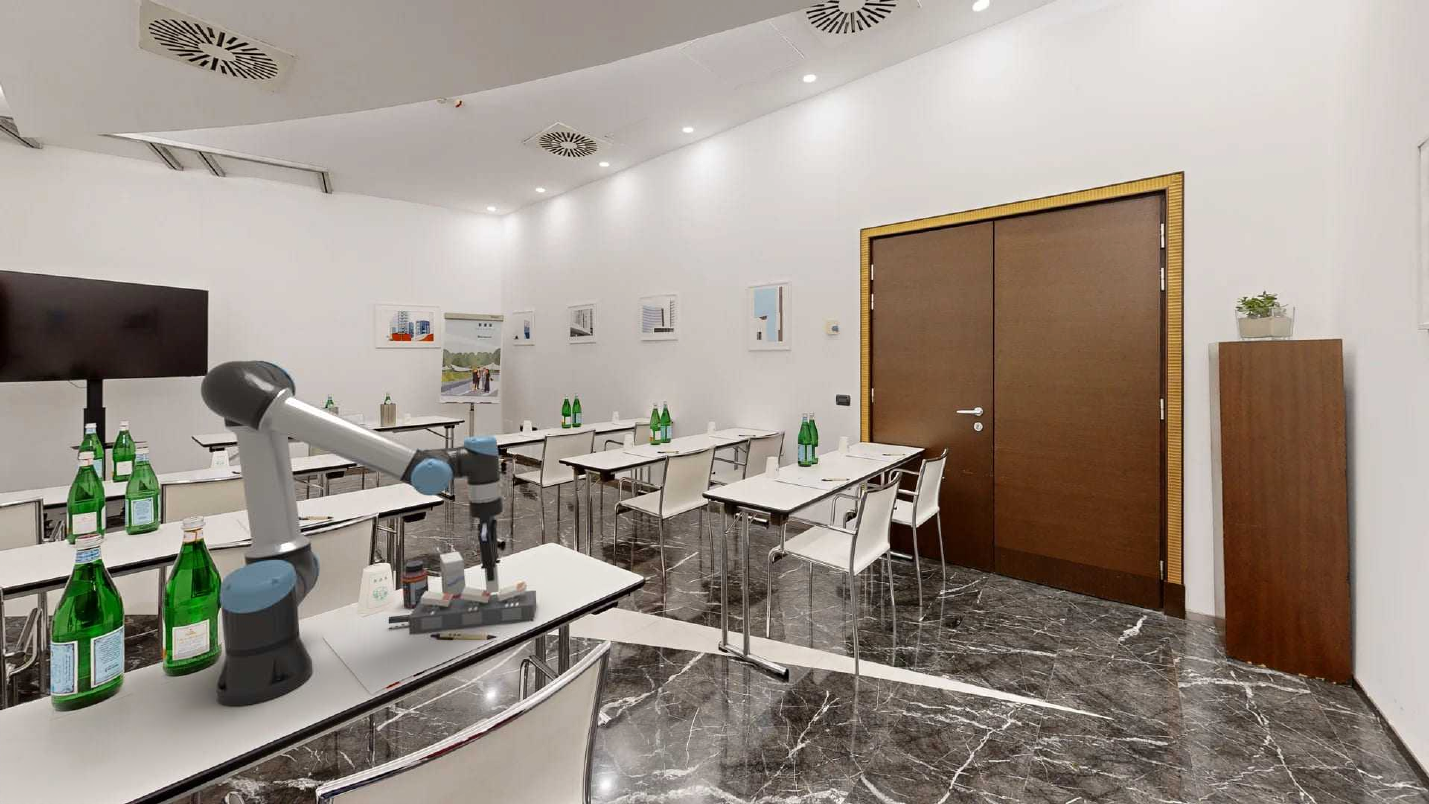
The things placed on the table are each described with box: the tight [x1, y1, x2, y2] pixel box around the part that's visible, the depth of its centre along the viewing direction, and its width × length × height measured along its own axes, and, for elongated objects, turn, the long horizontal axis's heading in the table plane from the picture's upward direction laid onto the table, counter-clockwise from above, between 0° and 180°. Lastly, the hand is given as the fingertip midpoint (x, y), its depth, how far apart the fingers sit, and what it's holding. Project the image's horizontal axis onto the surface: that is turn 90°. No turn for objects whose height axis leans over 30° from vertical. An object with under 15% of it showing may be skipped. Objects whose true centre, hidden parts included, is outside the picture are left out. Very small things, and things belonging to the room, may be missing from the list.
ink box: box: [439, 551, 467, 599], centre depth 153 cm, size 9×5×12 cm, turn 34°
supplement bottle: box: [401, 560, 429, 610], centre depth 150 cm, size 6×6×11 cm
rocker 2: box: [460, 586, 492, 603], centre depth 141 cm, size 6×4×2 cm, turn 104°
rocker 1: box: [420, 590, 453, 607], centre depth 139 cm, size 6×4×2 cm, turn 104°
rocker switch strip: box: [388, 590, 537, 635], centre depth 141 cm, size 34×9×5 cm, turn 103°
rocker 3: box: [497, 581, 528, 601], centre depth 143 cm, size 6×4×2 cm, turn 102°
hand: (492, 591), depth 142 cm, fingers closed
